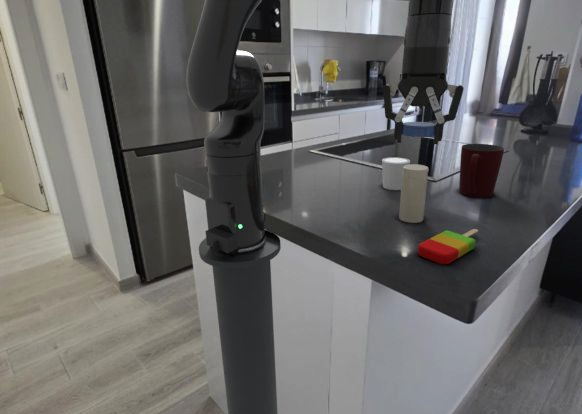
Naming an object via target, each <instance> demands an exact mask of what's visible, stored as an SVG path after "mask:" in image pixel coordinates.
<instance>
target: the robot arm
mask: <svg viewBox="0 0 582 414" xmlns="http://www.w3.org/2000/svg"><path fill="white" fill-rule="evenodd" d="M262 1H263V0H204V4H203V8H202V10H201V15H200V18H199V23H198V26H197V29H196V33H195V35H194V39H193V42H192V46H191V50H190V52H189V57H188V61H187V66H186V75H185V82H186V83H185V85H186V91H187V94H188V97H189V99H190V102H191V103H192V104H193V106H194V107H195V108H196V109H198V110H199V111H201V112H204V113H221V117H220V121H219V122H218V124H217V125H216V126H215V127H214V128H213V129H212V130H211V131H210V132H208V133H207V134H206V135H205V137H204V140H203V145H204V154H205V155H204V156H205V165H206V175H207V184H208V185H207V186H208V195H209V196H208V197H206V198H205V200H204V204H205V212H206V223H207V230H205V238H206V240H207V245H209V246H210V248H211V249H212V253H213V254H214V255H215V256H217V257H220V258H222V257H223V256H224V254H226V255H229V256H231V257H235V256H237V255H241V254H248V253H252V252H255V251H257V250H259V249H261V248H262V247H263V246H264V245H265V243H266V237H265V230H266V229H265V222H266V213H264V212H265V211H264V193H263V192H264V191H263V176H262V175H263V173H262V152H261V141H262V139H263V136H264V131H265V81H264V75H263V71H262V68H261V65H260V62H259V61H258V60H257V58H256V57H255V56H254V55H253V54H252V53H251V52H249V51H247V50H242V49H239V46H240V42H241V38H242V35H243V33H244V30H245V28H246V26H247V23H248V21H249V19H250V18H251V17H252V15H253V13H254V12H255V10H256V9H257V7H258V6H259V5H260V4H261V3H262ZM453 6H454V0H408V7H407V9H408V11H407V20H406V25H405V30H404V31H405V32H404V39H403V54H402V66H401V78H400V80H399V82H398V83H394V84H385V85H383V87H382V94H383V106H384V107H383V108H384V116H385V118H386V119H388V120H391V121H393V122H394V130H393V131H394V132H393V138H394V140H396V143H398V144H401V143H402V141H403V135H402V125H403V123H404V121H403V118H404V116H405V115H406V114H407V111H408V109H409V108H410V107H420V106H421V107H425V108H426V107H427V108H430V107H431V108H432V111H433V113H434V116H435V119H436V122H435V123H434V124H436V126H435V135H434V136H433V143H432V144H433V145H438V143H439V142H442V140H443V135H444V125H445V124H446V123H447V122H451V121H455V119H456V118H457V115H458V114H457V113H458V111H459V107H460V104H461V101H462V97H463V94H464V89H465V88H464V86H463V85H462V84H457V85H456V84H450V83H448V81H447V71H448V62H449V52H450V45H451V41H452V38H451V37H452V36H451V35H452V12H453ZM397 91H399V93H400V94H401V96H402V97H403V99H404V101H403V103H402V104H401V106H400V108H399V110H398V112H397V113H396V112H394V111H393V98H392V97H394V96H396V92H397ZM446 91H448V95H449V97H450V98H452V99H451V102H450V105H449V110H448V113H445V114H443V112H442V109H441V106H440V104H439V99H440V98H441V97H442V96H443V95H444V94H445V92H446Z"/></svg>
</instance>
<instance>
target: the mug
mask: <svg viewBox="0 0 582 414" xmlns="http://www.w3.org/2000/svg"><path fill="white" fill-rule="evenodd" d="M504 151H505V148H504V147H503V146H500V145H495V144H488V143H465V144H462V145H461V151H460V163H459V181H458V183H459V185H458V186H459V187H458V192H459V193H460V195H461V194H462V195H464V196H467V197H471V198H481V199H482V198H490V197H493V194H494V192H495V188H496V184H497V180H498V176H499V173H500V169H501V165H502V162H503V157H504Z"/></svg>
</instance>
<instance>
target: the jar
mask: <svg viewBox="0 0 582 414" xmlns="http://www.w3.org/2000/svg"><path fill="white" fill-rule="evenodd" d="M429 171H430V169H429V167H428V166H426V165H424V164H418V163H417V164H416V163H415V164H414V163H413V164H412V163H410V164H409V165H405V166H403V174H402V183H401V190H400V198H399V211H398V219H399V220H400V221H402V222H404V223H407V224H408V223H409V224H417V223H418V224H419V223H423V221H424V219H425V210H426V209H425V208H426V199H427V191H428V190H427V189H428V179H429V175H428V174H429Z"/></svg>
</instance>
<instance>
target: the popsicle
mask: <svg viewBox="0 0 582 414" xmlns="http://www.w3.org/2000/svg"><path fill="white" fill-rule="evenodd" d="M477 233H479V230H478V229H476V228H473V229H471V230H470V229H469V231H467V232H465V233H463V234H460V233H457V232H454V231H451V230H447V229H446V230H444V231H442V232H440V233H438V234H436V235H434V236H432V237H430V238H428V239H425V241H424V240H423V241H422V242H420V243H419V245H418V246H417V247H418V248H417V253H418V256H420V257H422V258H424V259H427V260H429V261H432V262H434V263H435V264H440V265H449V264H451V263H452V262H454V261H456V260H457V259H459V258H460V257H462V256H464V255H466V254H467V253H469V252H470V251H472V250H474V249H475V245H476V239H475V238H472V236H474V235H476V234H477Z"/></svg>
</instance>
